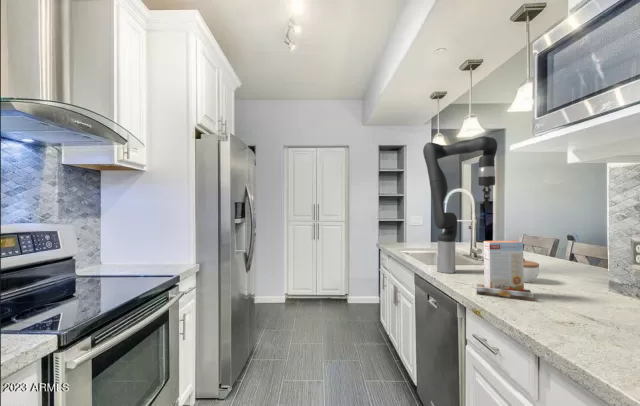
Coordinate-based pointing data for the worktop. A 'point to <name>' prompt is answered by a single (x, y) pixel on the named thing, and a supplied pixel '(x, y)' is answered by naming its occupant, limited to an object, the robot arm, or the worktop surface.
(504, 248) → the cracker box
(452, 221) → the robot arm
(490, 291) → the brown book
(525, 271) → the lidded bowl
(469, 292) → the worktop surface
